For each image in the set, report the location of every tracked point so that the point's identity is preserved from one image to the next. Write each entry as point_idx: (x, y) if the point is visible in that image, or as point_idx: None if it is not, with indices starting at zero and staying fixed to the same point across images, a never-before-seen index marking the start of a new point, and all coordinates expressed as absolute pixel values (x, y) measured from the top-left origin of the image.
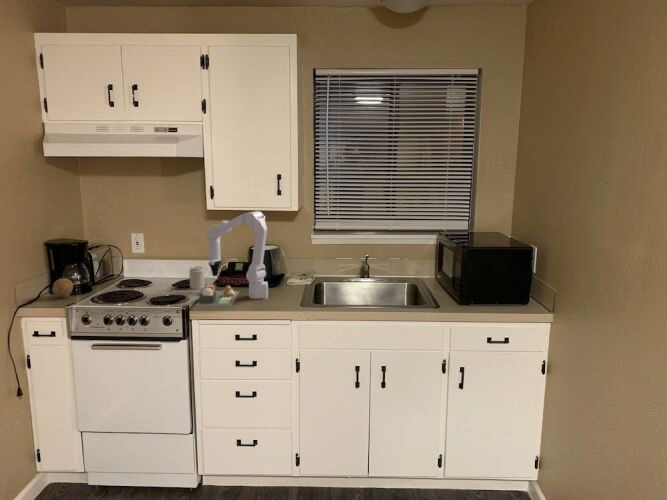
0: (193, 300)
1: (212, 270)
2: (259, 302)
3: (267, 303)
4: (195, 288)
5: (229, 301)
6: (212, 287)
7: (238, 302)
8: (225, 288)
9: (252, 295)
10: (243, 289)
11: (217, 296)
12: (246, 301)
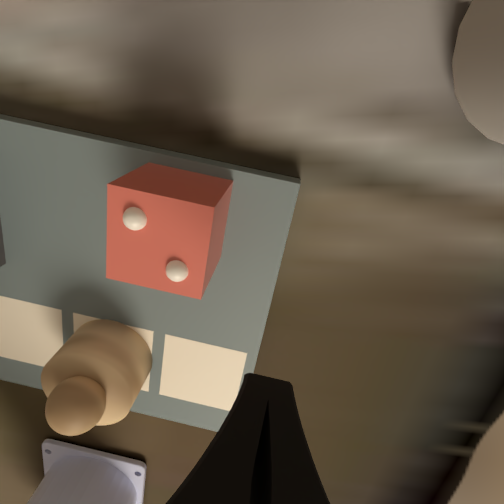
0: (13, 33)
1: (211, 462)
2: (20, 476)
3: (7, 501)
4: (464, 21)
5: None
6: (107, 274)
7: (4, 387)
8: (58, 387)
9: (36, 489)
10: (347, 458)
11: (85, 276)
12: (32, 427)
